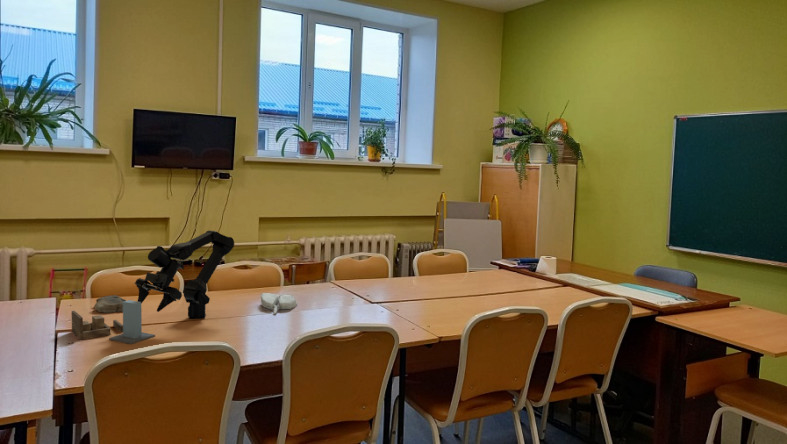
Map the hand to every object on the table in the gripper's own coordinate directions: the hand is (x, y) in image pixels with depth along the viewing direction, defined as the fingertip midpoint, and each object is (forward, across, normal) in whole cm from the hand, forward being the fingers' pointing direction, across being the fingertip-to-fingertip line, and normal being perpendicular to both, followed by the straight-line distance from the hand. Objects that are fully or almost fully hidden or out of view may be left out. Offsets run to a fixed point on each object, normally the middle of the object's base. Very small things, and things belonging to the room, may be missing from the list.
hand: (147, 308), depth 223 cm
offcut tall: (+14, -14, -1) cm, 20 cm away
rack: (+14, -14, -1) cm, 20 cm away
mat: (+12, +2, -2) cm, 13 cm away
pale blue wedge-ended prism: (+12, +2, -3) cm, 12 cm away
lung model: (-27, +28, +46) cm, 60 cm away
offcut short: (+17, -16, -4) cm, 24 cm away
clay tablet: (-2, -37, +27) cm, 46 cm away
